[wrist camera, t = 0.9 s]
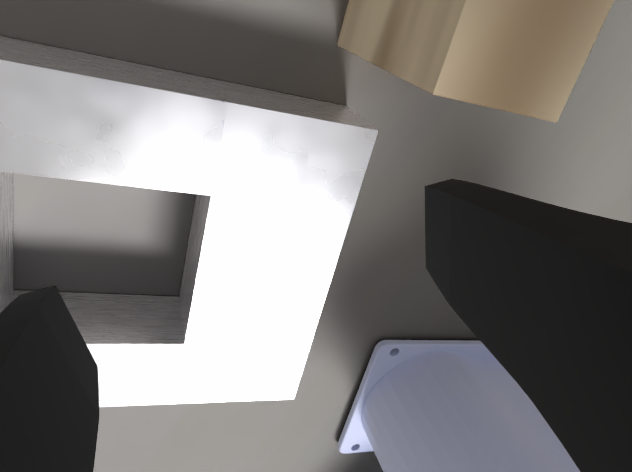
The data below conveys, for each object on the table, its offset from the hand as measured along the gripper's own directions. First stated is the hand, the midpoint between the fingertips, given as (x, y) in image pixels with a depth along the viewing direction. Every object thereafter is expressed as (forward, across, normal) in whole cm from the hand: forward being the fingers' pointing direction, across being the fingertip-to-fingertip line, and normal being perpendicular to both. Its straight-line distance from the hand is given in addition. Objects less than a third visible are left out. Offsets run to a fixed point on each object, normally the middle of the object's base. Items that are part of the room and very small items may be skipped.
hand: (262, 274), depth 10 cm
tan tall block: (+10, -8, -3) cm, 13 cm away
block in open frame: (+10, +4, +3) cm, 11 cm away
